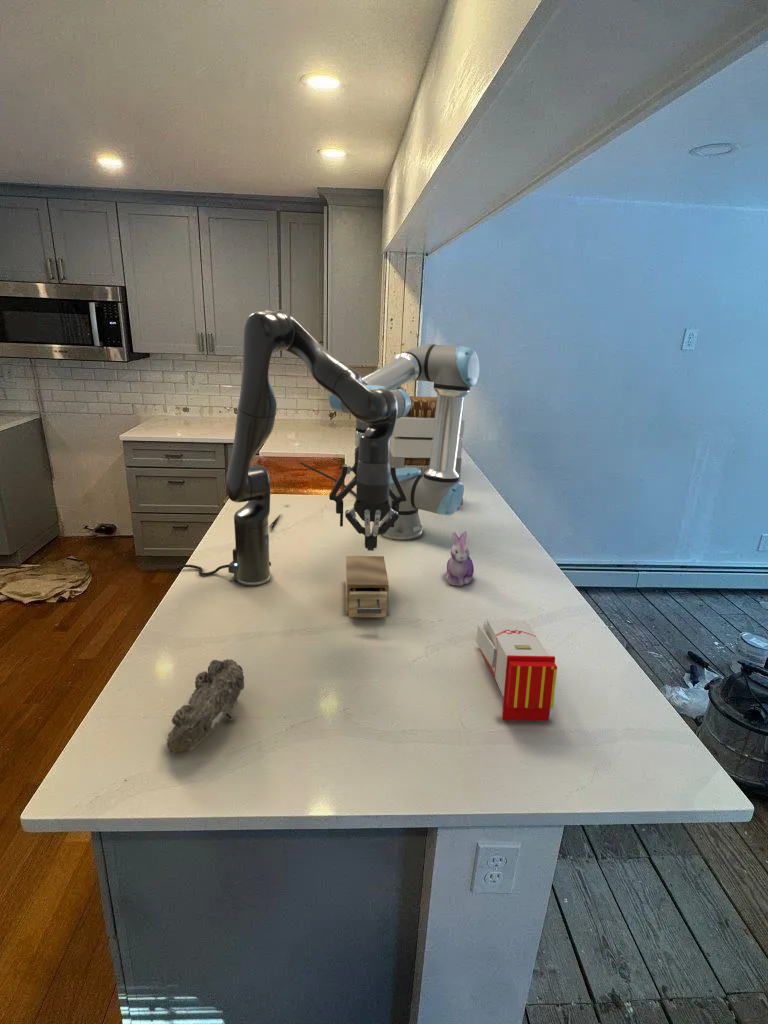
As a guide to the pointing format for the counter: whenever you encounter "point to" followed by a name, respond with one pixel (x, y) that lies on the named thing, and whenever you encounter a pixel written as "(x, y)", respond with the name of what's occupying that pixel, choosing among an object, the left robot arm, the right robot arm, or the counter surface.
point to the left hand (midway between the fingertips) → (370, 549)
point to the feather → (275, 522)
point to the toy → (519, 668)
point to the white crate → (417, 435)
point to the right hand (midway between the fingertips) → (366, 525)
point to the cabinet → (365, 574)
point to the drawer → (367, 602)
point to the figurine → (459, 562)
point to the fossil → (206, 705)
